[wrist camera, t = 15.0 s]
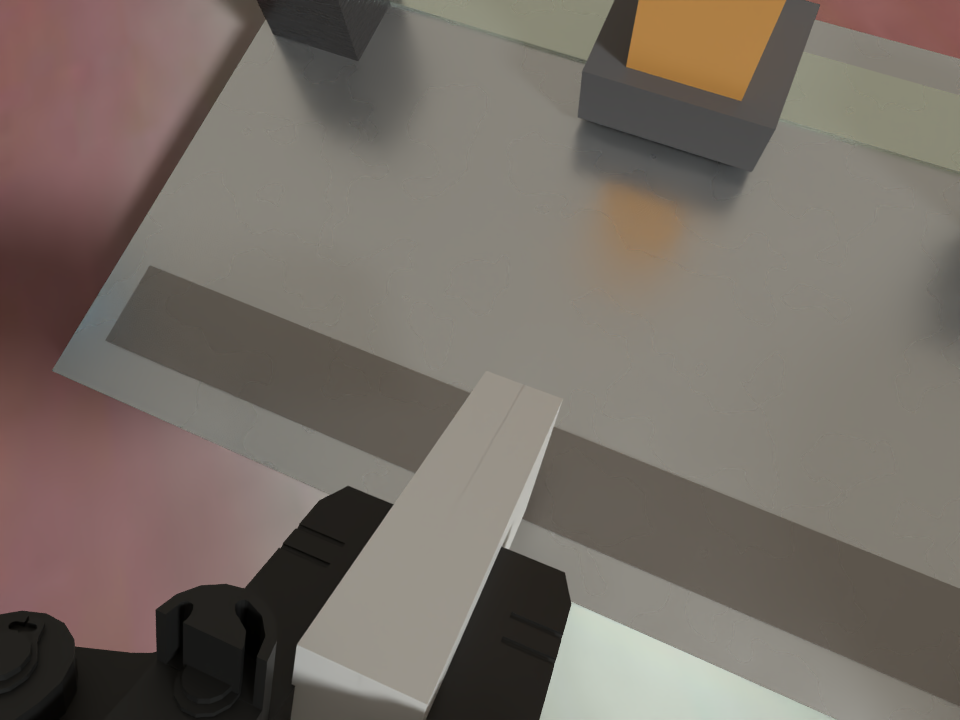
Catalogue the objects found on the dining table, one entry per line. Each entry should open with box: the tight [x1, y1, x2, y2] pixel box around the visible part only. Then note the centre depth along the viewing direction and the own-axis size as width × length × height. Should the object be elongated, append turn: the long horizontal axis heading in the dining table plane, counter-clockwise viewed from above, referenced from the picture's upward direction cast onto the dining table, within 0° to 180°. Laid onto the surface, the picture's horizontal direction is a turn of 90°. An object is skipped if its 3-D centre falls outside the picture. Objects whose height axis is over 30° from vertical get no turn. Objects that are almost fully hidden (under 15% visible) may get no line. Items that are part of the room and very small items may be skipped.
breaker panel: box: [52, 0, 960, 720], centre depth 17 cm, size 26×18×6 cm
